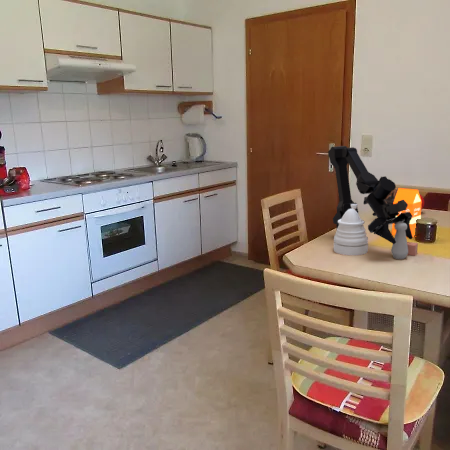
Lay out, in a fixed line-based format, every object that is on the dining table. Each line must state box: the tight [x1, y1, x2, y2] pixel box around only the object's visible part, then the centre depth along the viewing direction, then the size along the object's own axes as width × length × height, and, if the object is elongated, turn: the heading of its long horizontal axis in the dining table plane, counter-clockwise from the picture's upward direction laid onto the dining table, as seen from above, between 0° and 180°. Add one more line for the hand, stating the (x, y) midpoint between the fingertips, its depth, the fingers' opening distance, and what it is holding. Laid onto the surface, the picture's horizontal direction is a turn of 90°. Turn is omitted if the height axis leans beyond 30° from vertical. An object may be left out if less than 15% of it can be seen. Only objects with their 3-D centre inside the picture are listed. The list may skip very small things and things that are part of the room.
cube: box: [407, 241, 419, 257], centre depth 168 cm, size 4×4×4 cm
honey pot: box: [333, 203, 369, 256], centre depth 174 cm, size 13×13×18 cm
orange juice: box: [391, 187, 422, 238], centre depth 192 cm, size 8×9×20 cm
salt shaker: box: [390, 222, 408, 260], centre depth 163 cm, size 6×6×13 cm
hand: (403, 240), depth 162 cm, fingers open, 9 cm apart
